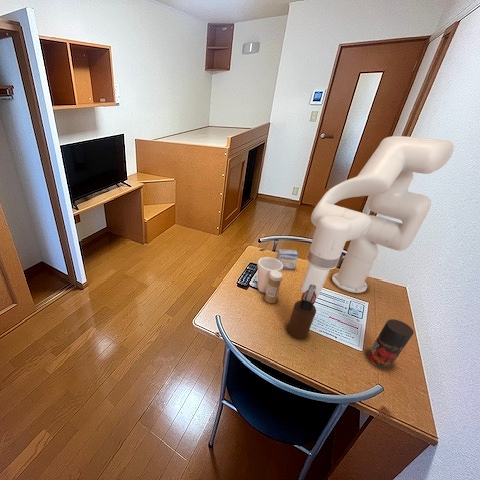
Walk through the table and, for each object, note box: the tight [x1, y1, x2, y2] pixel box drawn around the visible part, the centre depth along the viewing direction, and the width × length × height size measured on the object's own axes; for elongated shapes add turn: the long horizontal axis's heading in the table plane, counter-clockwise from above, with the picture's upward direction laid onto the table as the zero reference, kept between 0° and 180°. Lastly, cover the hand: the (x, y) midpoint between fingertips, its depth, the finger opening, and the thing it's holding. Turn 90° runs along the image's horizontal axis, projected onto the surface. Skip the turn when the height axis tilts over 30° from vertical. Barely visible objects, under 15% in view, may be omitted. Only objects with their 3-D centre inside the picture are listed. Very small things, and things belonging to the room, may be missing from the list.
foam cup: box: [256, 256, 284, 294], centre depth 108 cm, size 10×9×13 cm
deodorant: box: [367, 318, 414, 370], centre depth 77 cm, size 6×6×15 cm
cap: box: [300, 290, 318, 306], centre depth 82 cm, size 4×4×3 cm
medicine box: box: [275, 248, 299, 270], centre depth 121 cm, size 8×4×9 cm, turn 81°
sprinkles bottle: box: [263, 271, 283, 304], centre depth 102 cm, size 5×5×13 cm
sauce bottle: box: [286, 299, 317, 341], centre depth 87 cm, size 6×6×18 cm
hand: (307, 303), depth 83 cm, fingers open, 4 cm apart
